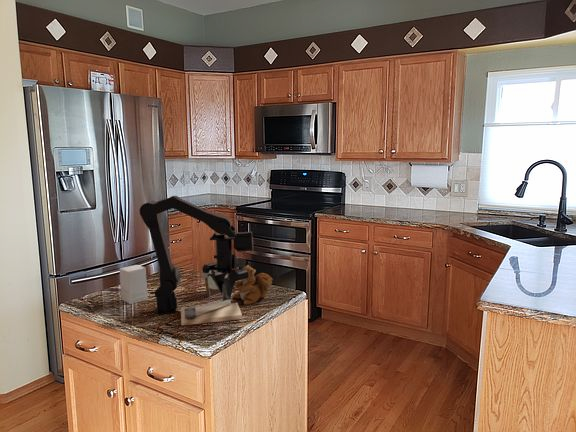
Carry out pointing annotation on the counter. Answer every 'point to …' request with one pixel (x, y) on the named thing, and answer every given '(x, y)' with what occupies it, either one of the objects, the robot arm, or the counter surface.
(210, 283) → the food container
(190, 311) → the lever
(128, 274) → the supplement box
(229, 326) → the counter surface
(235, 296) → the stuffed squirrel
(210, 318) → the base board
